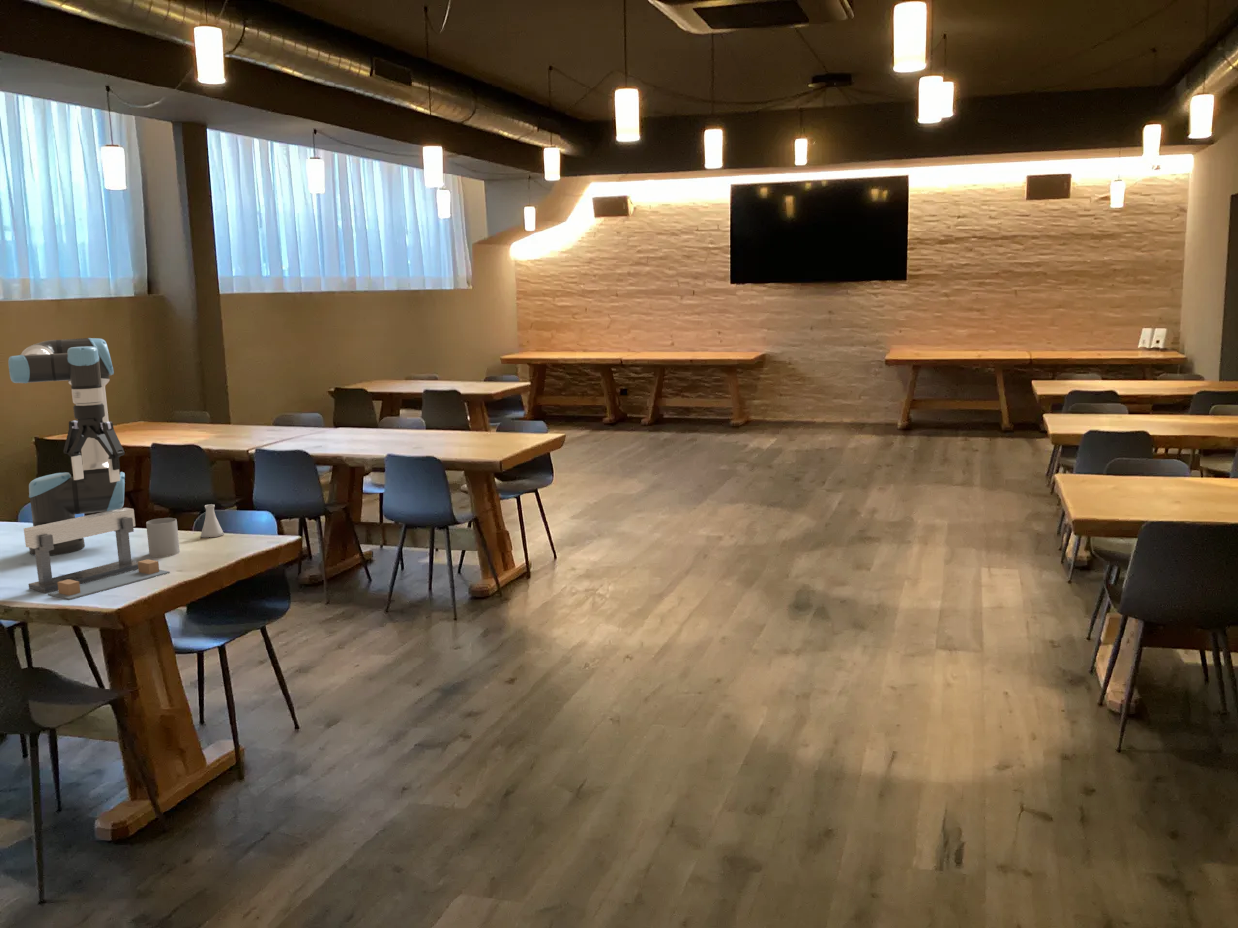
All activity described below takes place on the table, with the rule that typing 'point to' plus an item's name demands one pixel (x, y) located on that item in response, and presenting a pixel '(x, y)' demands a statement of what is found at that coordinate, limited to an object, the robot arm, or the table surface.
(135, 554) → the table surface
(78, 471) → the robot arm
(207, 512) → the flask
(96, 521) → the white bar
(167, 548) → the cup
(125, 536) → the hook stand
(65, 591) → the mat
